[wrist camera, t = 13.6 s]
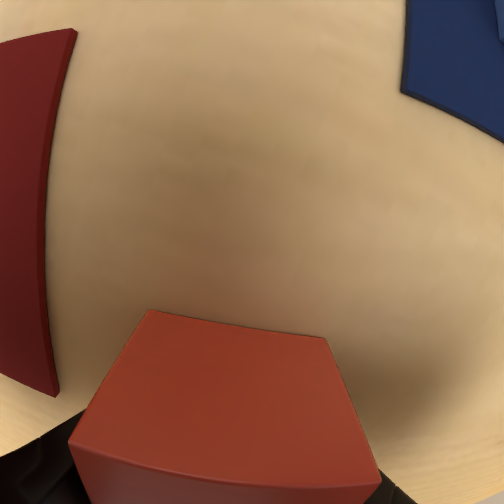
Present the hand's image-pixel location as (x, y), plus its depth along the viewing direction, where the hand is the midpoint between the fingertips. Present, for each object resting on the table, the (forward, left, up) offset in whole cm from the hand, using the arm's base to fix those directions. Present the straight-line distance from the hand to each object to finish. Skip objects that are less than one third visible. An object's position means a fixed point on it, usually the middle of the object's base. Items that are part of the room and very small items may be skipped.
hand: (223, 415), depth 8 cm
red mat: (+4, +12, -1) cm, 13 cm away
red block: (0, 0, -1) cm, 1 cm away
